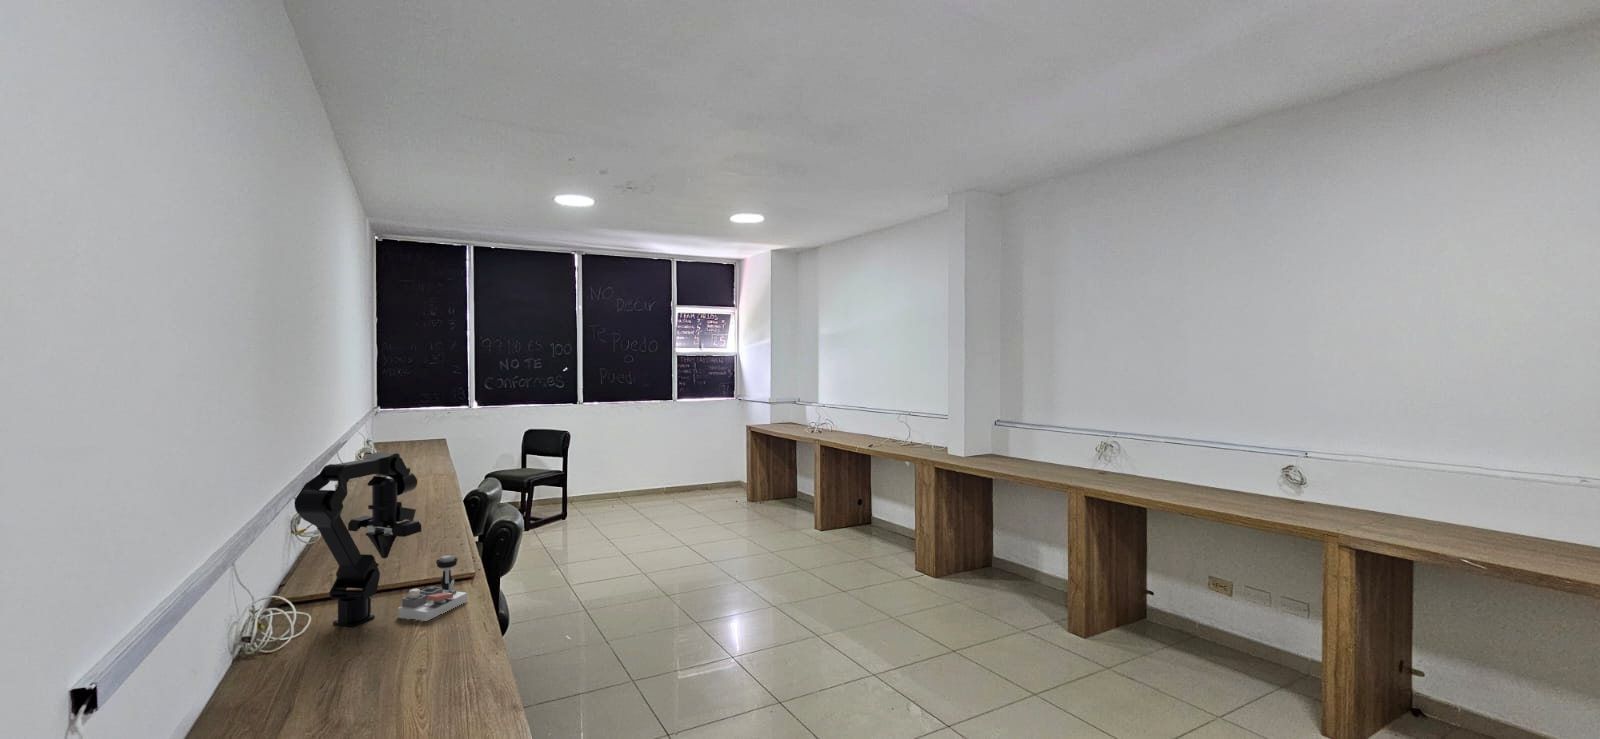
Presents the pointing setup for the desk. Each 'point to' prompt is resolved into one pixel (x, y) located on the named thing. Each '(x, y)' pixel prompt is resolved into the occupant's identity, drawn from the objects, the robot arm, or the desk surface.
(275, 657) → the desk surface
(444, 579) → the grey post with knob
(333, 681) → the desk surface
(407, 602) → the panel
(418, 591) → the button ivory
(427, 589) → the button black
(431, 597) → the rocker
